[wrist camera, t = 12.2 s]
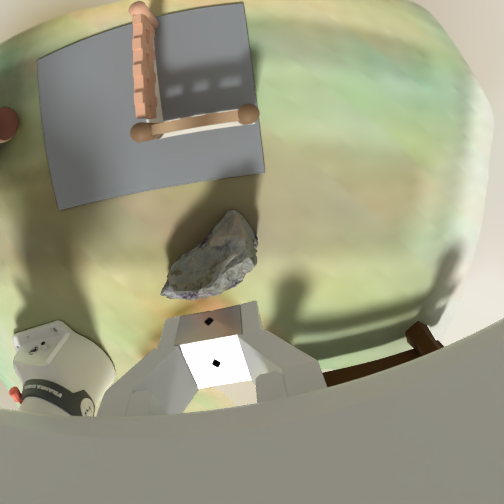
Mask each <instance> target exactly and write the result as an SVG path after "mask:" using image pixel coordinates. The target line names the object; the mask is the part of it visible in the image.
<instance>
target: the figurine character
mask: <svg viewBox="0 0 504 504" xmlns="http://www.w3.org/2000/svg"><path fill="white" fill-rule="evenodd" d="M17 129H18V116H17V114H16V112H15V111H14V110H13V109H11V108H9V107H2V108H0V143H4V142H7V141H9V140H10V139H11V138H12V137H13V136H14V135H15V133H16V131H17Z"/></svg>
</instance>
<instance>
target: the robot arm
mask: <svg viewBox="0 0 504 504" xmlns="http://www.w3.org/2000/svg"><path fill="white" fill-rule="evenodd" d="M13 342H14V346H15V349H16V352H17V353H16V355H15V357H14V360H13V365H14V369H15V372H16V374H17V376H18V378H19V380H20V382H21V384H22V386H23V391H22V394H21V393H20V391H19V389H18V388H17V387H13V388H11V390H10V391H9V394H10V395H11V397H13V399H14V401H15V402H19V403H20V404H21V406H20V408H19V410H18V411H16V410H9V409H2V408H0V504H504V318H503V319H501V320H499V321H497V322H496V323H494V324H492V325H490V326H488V327H486V328H484V329H482V330H480V331H478V332H476V333H474V334H472V335H470V336H468V337H466V338H464V339H461V340H459V341H457V342H455V343H453V344H450V345H448V346H446V347H443V348H441V349H439V350H436V351H434V352H431V353H429V354H427V355H424V356H422V357H419V358H416V359H414V360H411V361H409V362H406V363H403V364H401V365H398V366H395V367H392V368H389V369H386V370H384V371H381V372H378V373H375V374H372V375H369V376H365V377H362V378H359V379H356V380H352V381H349V382H346V383H342V384H339V385H335V386H331V387H328V388H327V385H326V382H325V380H324V377H323V374H322V371H321V368H320V365H319V363H318V360H316V359H314V358H312V357H311V356H309V355H307V354H306V353H304V352H302V351H301V350H299V349H297V348H296V347H294V346H292V345H291V344H289V343H287V342H286V341H284V340H282V339H281V338H279V337H277V336H276V335H274V334H272V333H271V332H269V331H268V330H263V325H262V321H261V317H260V312H259V308H258V304H257V301H252V302H248V303H244V304H241V305H236V306H231V307H227V308H223V309H218V310H214V311H206V312H200V313H194V314H188V315H182V316H176V317H171V318H167V319H166V320H165V324H164V327H163V331H162V334H161V338H160V341H159V345H158V349H153V350H152V351H151V352H150V353H149V354H147V355H146V356H145V357H144V358H143V359H142V360H141V361H139V362H138V363H137V364H136V365H135V366H134V367H133V368H131V369H130V370H129V371H128V372H127V373H126V374H125V375H124V376H122V377H121V378H120V379H119V380H118V381H117V382H116V383H114V384H113V382H114V380H115V369H114V366H113V364H112V362H111V360H110V359H109V357H108V356H107V355H106V354H105V352H104V351H103V350H102V349H101V348H99V347H98V346H97V345H96V344H95V343H93V342H92V341H90V340H89V339H87V338H85V337H83V336H81V335H79V334H77V333H75V332H74V331H73V330H72V329H70V328H69V327H68V326H67V325H66V324H65V323H63V322H62V321H54V322H51V323H48V324H44V325H41V326H38V327H35V328H31V329H28V330H25V331H21V332H18V333H16V334H15V335H14V336H13ZM245 380H251V381H252V382H253V383H254V384H255V385H256V392H257V403H255V404H250V405H243V406H237V407H230V408H224V409H216V410H209V411H200V412H191V413H183V411H184V410H185V408H186V407H187V406H188V404H189V403H190V401H191V400H192V398H193V397H194V396H195V394H196V393H197V391H198V390H199V388H201V387H207V386H213V385H219V384H224V383H232V382H239V381H245ZM112 384H113V385H112ZM111 385H112V386H111ZM110 386H111V387H110ZM109 387H110V388H109ZM108 388H109V389H108ZM102 398H103V399H102ZM101 399H102V402H101V404H100V407H99V410H98V413H97V416H96V417H94V412H95V409H96V408H97V406H98V404H99V402H100V400H101Z"/></svg>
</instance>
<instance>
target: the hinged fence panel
mask: <svg viewBox="0 0 504 504" xmlns="http://www.w3.org/2000/svg"><path fill="white" fill-rule="evenodd" d="M129 13H130V14H131V15H132V16H133V21H132V24H133V39H132V50H133V77H134V105H135V113H136V119H141V118H144V119H154V118H157V116H156V107H157V97H155V83H156V73H154V60H155V50H154V49H153V38H155V29H156V28H157V27H158V21H157V20H156V18H155V17H154V15H153V14H152V13H151V11H150V10H149V9H148V7H147V6H146V5H145V3H144V2H142V1H137V2H135V3H133V4H132V5H131V6H130V7H129Z"/></svg>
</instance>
